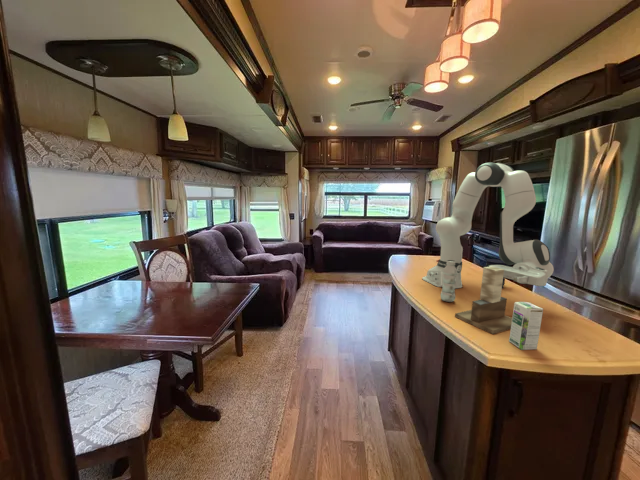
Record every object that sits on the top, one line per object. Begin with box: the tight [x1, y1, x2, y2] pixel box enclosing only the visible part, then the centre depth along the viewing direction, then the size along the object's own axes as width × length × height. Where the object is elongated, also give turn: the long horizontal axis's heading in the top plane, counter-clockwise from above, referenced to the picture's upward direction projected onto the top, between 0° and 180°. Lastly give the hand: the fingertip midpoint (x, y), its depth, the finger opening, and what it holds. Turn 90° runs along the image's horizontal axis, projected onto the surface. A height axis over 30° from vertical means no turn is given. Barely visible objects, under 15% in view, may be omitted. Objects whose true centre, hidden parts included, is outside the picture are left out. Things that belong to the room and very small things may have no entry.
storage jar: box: [485, 258, 508, 290], centre depth 154 cm, size 10×10×15 cm
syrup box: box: [508, 301, 544, 351], centre depth 91 cm, size 6×6×14 cm
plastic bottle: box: [440, 260, 457, 303], centre depth 130 cm, size 6×7×20 cm
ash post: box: [479, 266, 504, 303], centre depth 108 cm, size 5×5×13 cm
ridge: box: [454, 296, 512, 335], centre depth 110 cm, size 16×18×9 cm
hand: (503, 276), depth 111 cm, fingers open, 8 cm apart
